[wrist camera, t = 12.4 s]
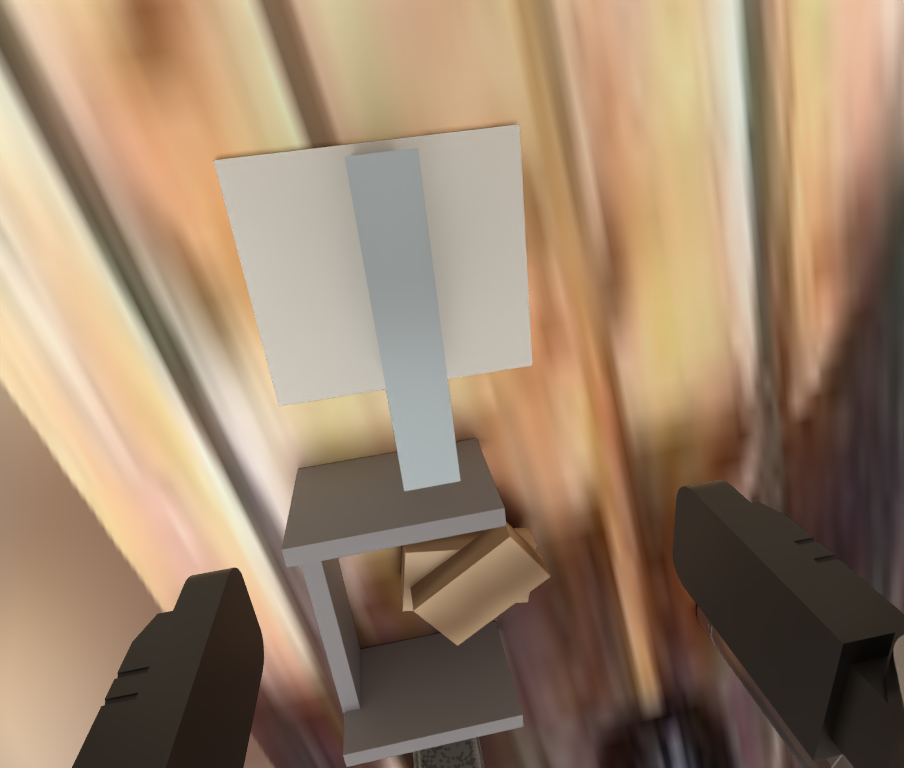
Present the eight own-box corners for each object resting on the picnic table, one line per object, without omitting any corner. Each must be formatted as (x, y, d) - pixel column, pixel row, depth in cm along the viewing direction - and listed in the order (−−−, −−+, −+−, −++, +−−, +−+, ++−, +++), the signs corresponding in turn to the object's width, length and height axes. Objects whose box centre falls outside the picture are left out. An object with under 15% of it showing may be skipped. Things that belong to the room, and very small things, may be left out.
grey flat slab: (396, 150, 29) (417, 147, 18) (428, 375, 34) (460, 481, 23) (351, 156, 28) (344, 156, 17) (390, 382, 34) (404, 491, 23)
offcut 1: (402, 533, 37) (405, 552, 35) (528, 527, 39) (536, 545, 37) (400, 590, 39) (402, 611, 37) (520, 582, 41) (528, 602, 39)
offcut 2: (410, 588, 37) (413, 610, 35) (502, 517, 36) (510, 536, 34) (452, 622, 38) (457, 645, 37) (541, 556, 37) (550, 576, 36)
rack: (476, 438, 37) (504, 508, 29) (496, 632, 44) (523, 726, 37) (296, 469, 36) (279, 550, 28) (347, 663, 43) (345, 767, 36)
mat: (516, 124, 30) (519, 124, 29) (529, 362, 35) (532, 365, 35) (216, 160, 28) (213, 160, 27) (280, 402, 34) (278, 406, 33)
